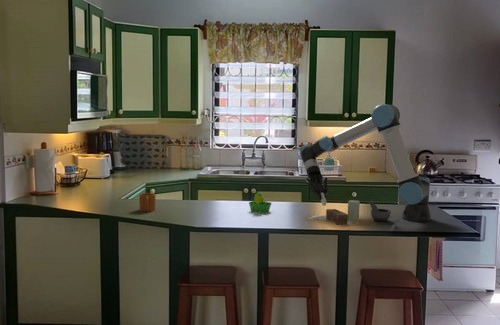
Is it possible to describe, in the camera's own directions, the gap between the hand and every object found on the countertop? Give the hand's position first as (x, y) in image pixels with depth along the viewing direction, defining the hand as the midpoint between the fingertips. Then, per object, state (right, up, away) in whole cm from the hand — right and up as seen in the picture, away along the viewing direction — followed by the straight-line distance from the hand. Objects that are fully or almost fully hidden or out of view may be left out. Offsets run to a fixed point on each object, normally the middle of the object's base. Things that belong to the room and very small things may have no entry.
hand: (324, 204), depth 284 cm
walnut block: (+2, -5, -6) cm, 8 cm away
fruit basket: (-34, -6, +17) cm, 39 cm away
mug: (-97, -5, +12) cm, 98 cm away
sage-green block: (+14, -8, -8) cm, 18 cm away
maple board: (+4, -9, -7) cm, 12 cm away
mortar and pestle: (+27, -10, -7) cm, 30 cm away
